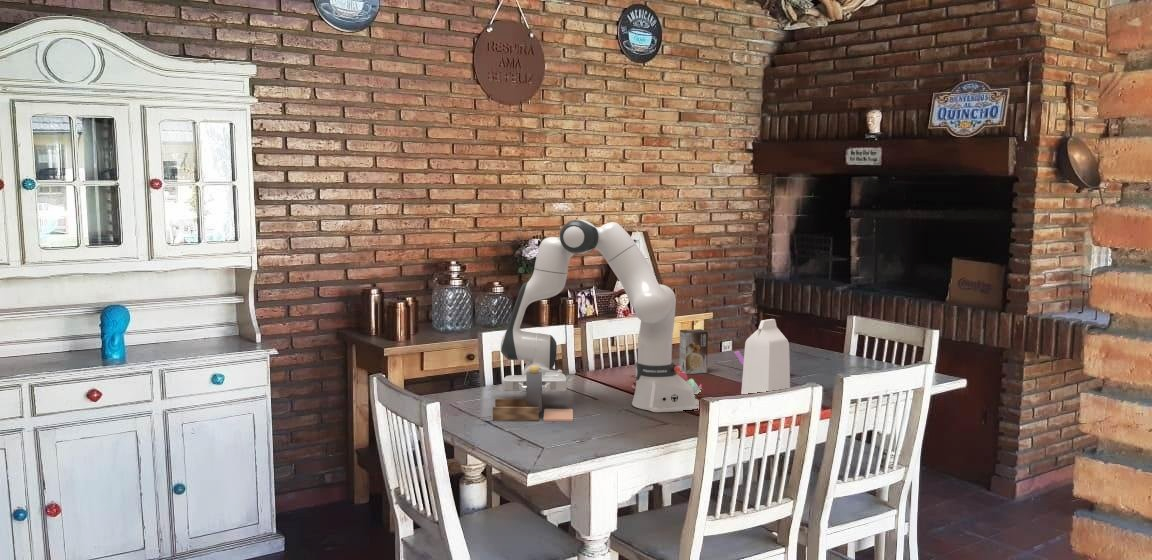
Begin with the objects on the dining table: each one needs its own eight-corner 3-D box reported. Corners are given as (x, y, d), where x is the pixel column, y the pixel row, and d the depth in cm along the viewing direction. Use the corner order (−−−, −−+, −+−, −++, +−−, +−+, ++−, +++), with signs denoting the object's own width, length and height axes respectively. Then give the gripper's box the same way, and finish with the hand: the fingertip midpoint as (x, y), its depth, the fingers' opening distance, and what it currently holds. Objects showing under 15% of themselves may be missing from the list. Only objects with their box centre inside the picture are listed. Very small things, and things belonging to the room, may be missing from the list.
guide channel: (539, 411, 284) (539, 398, 284) (538, 420, 273) (538, 407, 273) (495, 410, 284) (495, 398, 284) (492, 420, 273) (492, 407, 273)
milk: (767, 400, 300) (770, 324, 297) (741, 394, 309) (743, 319, 306) (790, 395, 307) (792, 320, 304) (763, 389, 316) (765, 316, 313)
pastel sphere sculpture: (621, 393, 310) (622, 367, 309) (648, 379, 330) (648, 355, 329) (690, 402, 298) (690, 375, 297) (713, 387, 319) (713, 362, 318)
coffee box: (700, 369, 347) (701, 328, 345) (707, 373, 341) (708, 331, 339) (678, 370, 344) (679, 329, 342) (685, 374, 338) (686, 332, 336)
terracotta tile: (572, 410, 285) (572, 409, 285) (573, 421, 273) (573, 419, 273) (544, 410, 285) (544, 408, 285) (543, 421, 273) (543, 419, 273)
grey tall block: (542, 408, 281) (542, 364, 279) (541, 412, 276) (541, 368, 274) (526, 408, 281) (526, 364, 279) (526, 412, 276) (525, 368, 274)
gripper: (503, 369, 290) (500, 379, 276) (566, 369, 290) (566, 379, 276) (503, 388, 291) (500, 399, 277) (566, 388, 291) (566, 399, 277)
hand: (534, 389), depth 277 cm, fingers closed on grey tall block, 5 cm apart
